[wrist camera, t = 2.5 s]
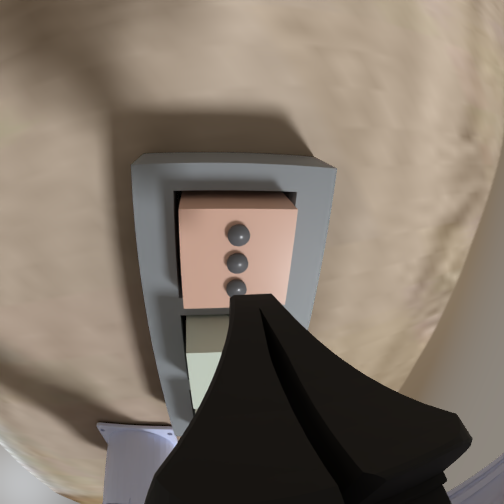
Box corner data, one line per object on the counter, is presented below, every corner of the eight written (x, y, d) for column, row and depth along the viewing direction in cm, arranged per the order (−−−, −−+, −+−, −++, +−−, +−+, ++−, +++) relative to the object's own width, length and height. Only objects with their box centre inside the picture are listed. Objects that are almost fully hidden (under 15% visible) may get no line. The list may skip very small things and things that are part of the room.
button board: (275, 402, 25) (282, 428, 23) (174, 408, 24) (174, 436, 21) (314, 156, 16) (337, 168, 13) (143, 153, 14) (131, 164, 12)
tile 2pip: (262, 356, 20) (276, 405, 16) (191, 360, 19) (193, 411, 15) (269, 299, 18) (287, 350, 14) (186, 302, 17) (186, 356, 13)
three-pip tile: (268, 264, 18) (286, 307, 14) (185, 266, 17) (183, 311, 14) (275, 184, 16) (299, 211, 12) (183, 183, 15) (178, 211, 11)
